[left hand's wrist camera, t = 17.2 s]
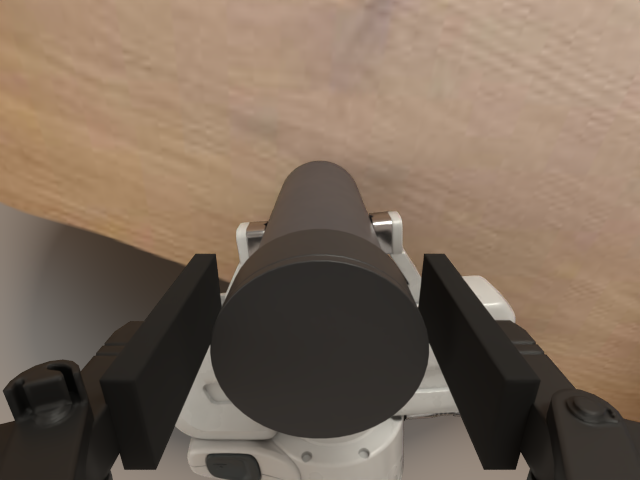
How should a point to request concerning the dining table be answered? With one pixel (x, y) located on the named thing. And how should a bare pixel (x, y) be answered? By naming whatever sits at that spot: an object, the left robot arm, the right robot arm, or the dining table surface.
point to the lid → (319, 336)
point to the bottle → (319, 204)
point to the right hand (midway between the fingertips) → (317, 219)
